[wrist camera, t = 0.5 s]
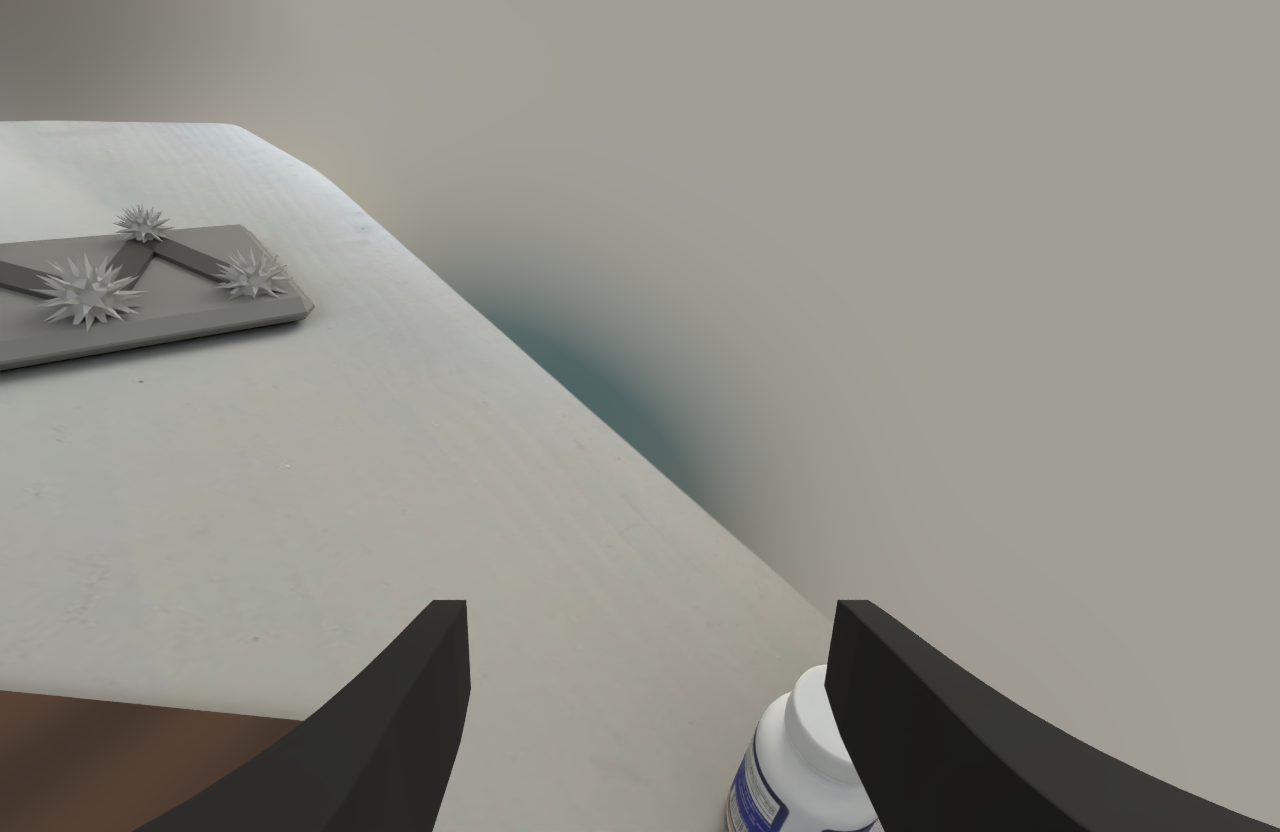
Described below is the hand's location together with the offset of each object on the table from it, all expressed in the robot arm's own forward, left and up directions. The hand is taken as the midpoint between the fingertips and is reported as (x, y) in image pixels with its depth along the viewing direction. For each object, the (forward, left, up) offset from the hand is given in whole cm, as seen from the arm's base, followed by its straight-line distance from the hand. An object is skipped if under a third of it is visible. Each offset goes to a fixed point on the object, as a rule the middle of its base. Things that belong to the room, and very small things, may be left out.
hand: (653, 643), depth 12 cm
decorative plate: (+48, +40, -19) cm, 65 cm away
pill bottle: (+4, -10, -19) cm, 22 cm away
